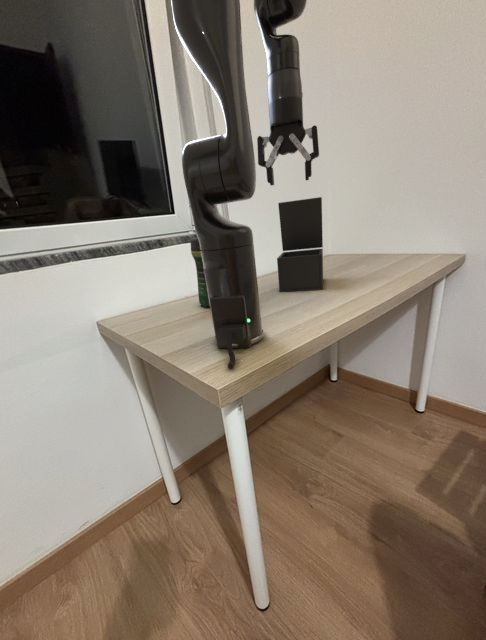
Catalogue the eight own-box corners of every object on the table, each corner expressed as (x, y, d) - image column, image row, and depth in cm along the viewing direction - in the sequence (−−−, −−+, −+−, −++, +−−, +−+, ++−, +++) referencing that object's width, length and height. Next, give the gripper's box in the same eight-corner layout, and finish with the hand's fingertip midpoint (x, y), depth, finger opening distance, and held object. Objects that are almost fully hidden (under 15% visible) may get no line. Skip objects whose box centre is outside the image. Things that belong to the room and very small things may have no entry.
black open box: (322, 289, 89) (322, 254, 85) (279, 291, 92) (276, 258, 88) (323, 279, 101) (322, 248, 97) (284, 282, 104) (282, 252, 100)
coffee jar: (209, 309, 83) (197, 237, 75) (196, 305, 89) (183, 237, 82) (238, 301, 88) (230, 232, 80) (224, 297, 94) (215, 233, 86)
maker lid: (321, 197, 88) (321, 194, 92) (278, 203, 92) (280, 200, 96) (322, 247, 96) (322, 242, 100) (282, 251, 100) (284, 246, 104)
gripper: (250, 103, 67) (258, 186, 73) (317, 87, 63) (319, 176, 70) (257, 112, 74) (263, 187, 80) (318, 99, 70) (319, 179, 76)
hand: (289, 182), depth 75 cm, fingers open, 8 cm apart
